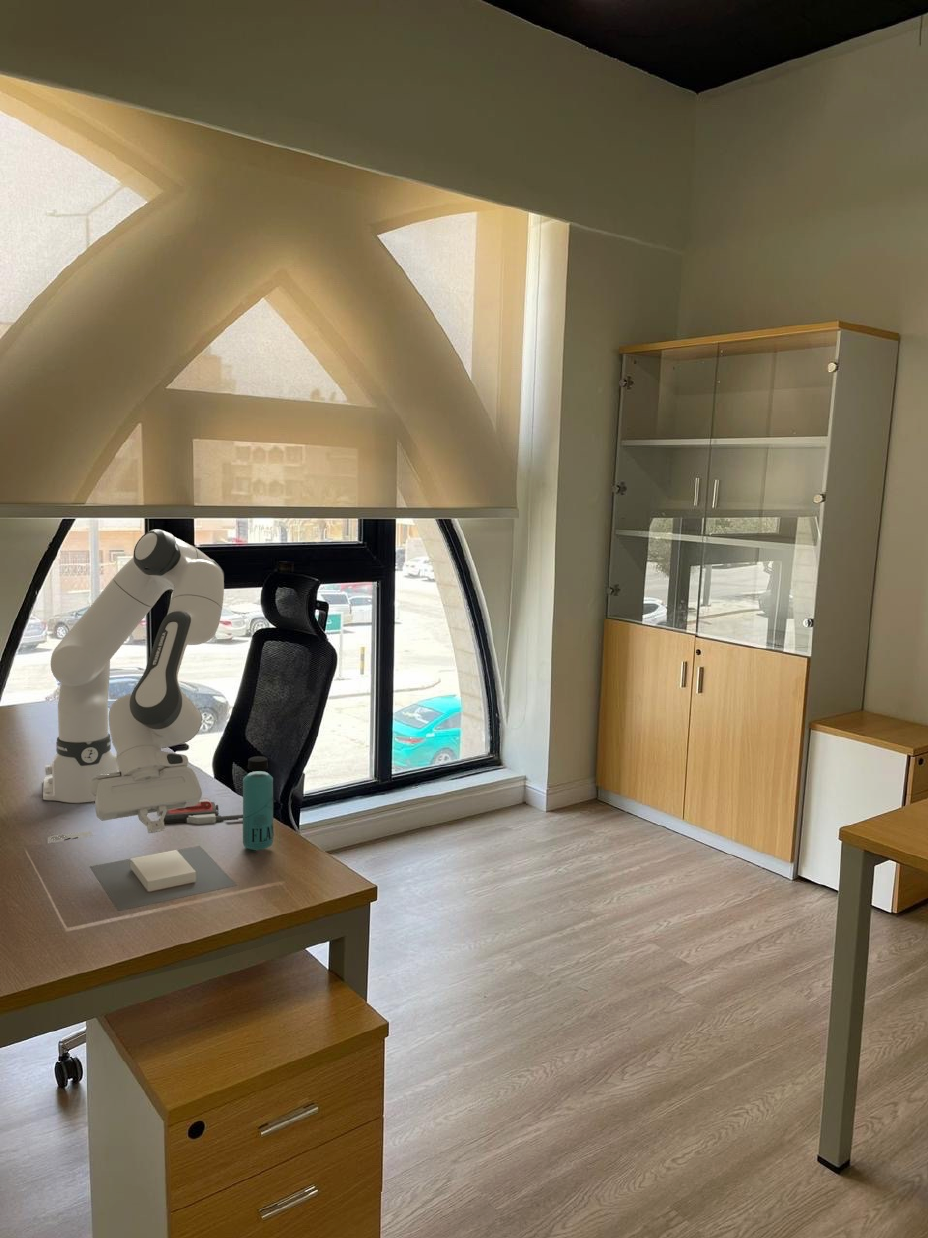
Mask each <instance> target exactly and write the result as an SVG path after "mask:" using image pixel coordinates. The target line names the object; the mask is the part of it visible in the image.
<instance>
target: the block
mask: <svg viewBox="0 0 928 1238" xmlns="http://www.w3.org/2000/svg"><path fill="white" fill-rule="evenodd" d="M177 850H178V849H174V850H173V849H172V850H169V851H164V852H159V853H152V854H147V855H141V856H137V857H131V858H130V859H131V869H132V871H133V872H134V873H135V875H136V876H137V877H138V879H139V880H140V881H141V883H142V884H143V885H144V887H145V888H146V889H147V891H149V892H152V891H157V890H162V889H167V888H172V887H176V886H181V885H186V884H191V883H194V882H196V871H195V870H194V869H193V868H192V867H191V866H190V865H189V863H188V862H187V861H186V860H185V859H184V858H183V857H182V855H181V854H180V853H179V852H178V851H177Z"/></svg>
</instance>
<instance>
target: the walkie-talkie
mask: <svg viewBox="0 0 928 1238" xmlns="http://www.w3.org/2000/svg"><path fill="white" fill-rule="evenodd" d="M218 814H220V813H219V805H218V804H215V802H214V801H210V799H209V798H201V799H200V801H199V803H198V804H197V805H195V806H190V807H184V808H178V809H172V810H167V812H166V815H165V818H164V820H163V821H164V825H165V824H174V823H175V824H176V823H186V824H195V825H204V824H216V823H217V822H224V821H225V822H226V821H236V820H237V821H238V820H239V819H243V814H233V815H223V816H222V815H218ZM158 820H160V818H159V819H158Z"/></svg>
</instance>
